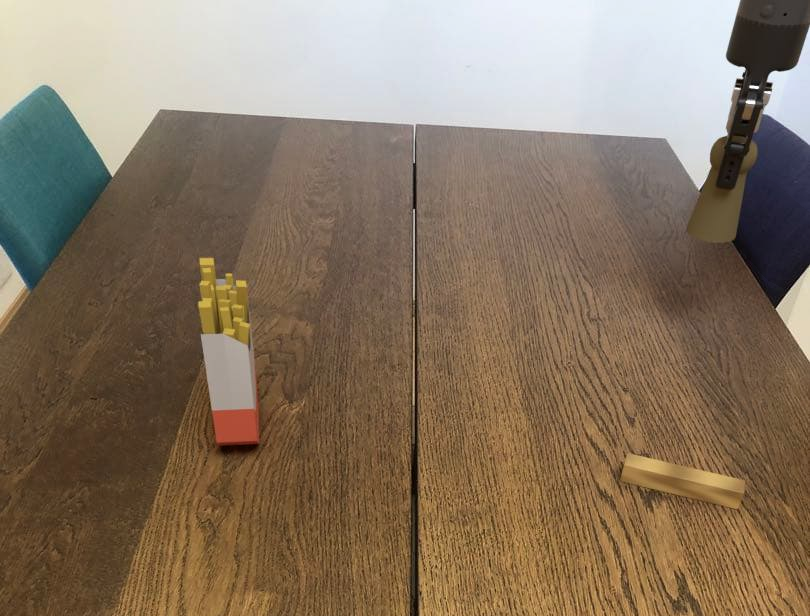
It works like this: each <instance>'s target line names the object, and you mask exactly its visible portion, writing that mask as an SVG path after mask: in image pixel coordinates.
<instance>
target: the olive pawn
mask: <svg viewBox="0 0 810 616" xmlns="http://www.w3.org/2000/svg"><path fill="white" fill-rule="evenodd" d="M727 138H728V136H727V135H724V136H721V137H719V138H718V139H716V141H715V142H714V143H713V144H712V147H711V149H710V153H709V163H710V169H709V171H708V173H707V176H706V179H705V181H704V183H703V186H702V188H701V191H700V193H699V195H698V198H697V200H696V202H695V205H694V208H693V210H692V213H691V216H690V217H689V220H688V222H687V225H686V228H685V231H686V233H687V234H688V235H689V236H690V237H692V238H694V239H697V240H699V241H703V242H706V243H713V244H714V243H715V244H724V243H730V242H732V241H734V240H735V239H736V237H737V231H738V226H739V221H740V215H741V209H742V203H743V198H744V191H745V186H746V181H747V180H746V179H747V174H748V171H750V170H751V168H753V166H754V165H755V163H756V161H757V158H758V146H757V143H756V142H755V141H754V140H751V143H750V146H749V148H750V150H749V153H748V154H747V155H746V156H745V157H744V159H743V162H742V166H741V169H740V172H739V176H738V179H737V182H736V186H735V188H734V189H732V190H727V189H720V188H717V187H716V180H717V177H718V173H719V170H720V166H721V163H722V159H723V156H724V154H723V153H724V150H723V148H724V145H725V144H726V142H727ZM745 140H746V138H745V137H741V136H733V139H732V141H733V142H740V143H745Z"/></svg>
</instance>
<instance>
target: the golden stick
mask: <svg viewBox="0 0 810 616" xmlns="http://www.w3.org/2000/svg"><path fill="white" fill-rule="evenodd" d="M619 482H621V483H626V484H629V485H634V486H638V487H642V488H647V489H651V490H654V491H658V492H663V493H668V494H671V495H676V496H680V497H684V498H688V499H692V500H695V501H696V500H697V501H700V502H705V503H709V504H713V505H717V506H721V507H726V508H730V509H734V510H738V509H739V507H740V505H741V503H742V500H743V498H744V495H745V492H746V491H745V490H746V480H745V479H742V478H737V477H733V476H728V475H723V474H719V473H715V472H711V471H707V470H702V469H698V468H694V467H690V466H685V465H681V464H677V463H673V462H669V461H668V462H667V461H663V460H659V459H655V458H651V457H648V456H647V457H646V456H643V455H637V454H634V453H629V452H627V453H626V456H625V459H624V462H623V467H622V469H621V473H620V478H619Z"/></svg>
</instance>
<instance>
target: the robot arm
mask: <svg viewBox="0 0 810 616" xmlns="http://www.w3.org/2000/svg"><path fill="white" fill-rule="evenodd" d="M809 30H810V0H739V4H738V7H737V9H736V14H735V19H734V23H733V26H732V30H731V33H730V37H729V41H728V44H727V48H726V49H727V50H726V52H725V59H726V61H727V62H728V63H729V64H731V65H733V66H736V67H738V68H744V71H743V72H742V75H741V78H739V77H736V79H735V82H734V86H733V90H732V93H731V97H730V101H731V105H730V107H729V112H728V115H727V121H726V125H725V130H726V133H727V135H726V136H728V138H727V142H726V144H725V145H724V148H723V150H724V153H723V154H724V156H723V159H722V163H721V166H720V170H719V173H718V177H717V180H716V187H717V188H720V189H727V190H732V189H734V188H735V186H736V182H737V179H738V176H739V172H740V169H741V166H742V162H743V159H744V157H745V156H746V155H747V154H748V153H749V150H750V148H749V146H750V143H751V140H752V139H753V137H754V135H755V134H756V133H758V131H759V129H760V126H761V121H762V118H763V114H764V111H765V108H766V107H767V106H768V104H769V103H770V98H771V95H772V92H773V85H774V82H773V81H768V79H769V76H770V74H771V73H773V72H779V73H781V72H787V71H790V70H792V69H795V67H797V65H798V64H799V61H800V58H801V54H802V52H803V48H804V45H805V42H806V39H807V35H808V32H809ZM733 136H741V137H745V138H746V140H745V143H740V142H733V141H732V139H733ZM752 141H753V140H752Z"/></svg>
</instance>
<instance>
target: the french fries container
mask: <svg viewBox="0 0 810 616" xmlns="http://www.w3.org/2000/svg"><path fill="white" fill-rule="evenodd" d="M199 269H200V275H201V281H200V282H199V291H200V298H201V300H200V301H199V300H198V301H197V303H198V313H199V318H200V323H201V325H200V326H201V327H200V339H201V345H202V350H203V351H202V353H203V359H204V366H205V372H206V381H207V386H208V387H207V388H208V392H209V399H210V407H211V413H212V420H213V427H214V434H215V440H216V443H217V444H218V445H219V446H220V447H223V446H241V445H242V446H246V445H259V444H260V414H259V413H260V412H259V395H258V380H257V370H256V361H255V359H256V358H255V350H254V339H253V331H252V321H251V311H250V302H249V295H248V285H247V280H238V279H237V280H235V285H234V279H233V273H225V278H217V275H216V268H215V260H214V258H213V257H199Z"/></svg>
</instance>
